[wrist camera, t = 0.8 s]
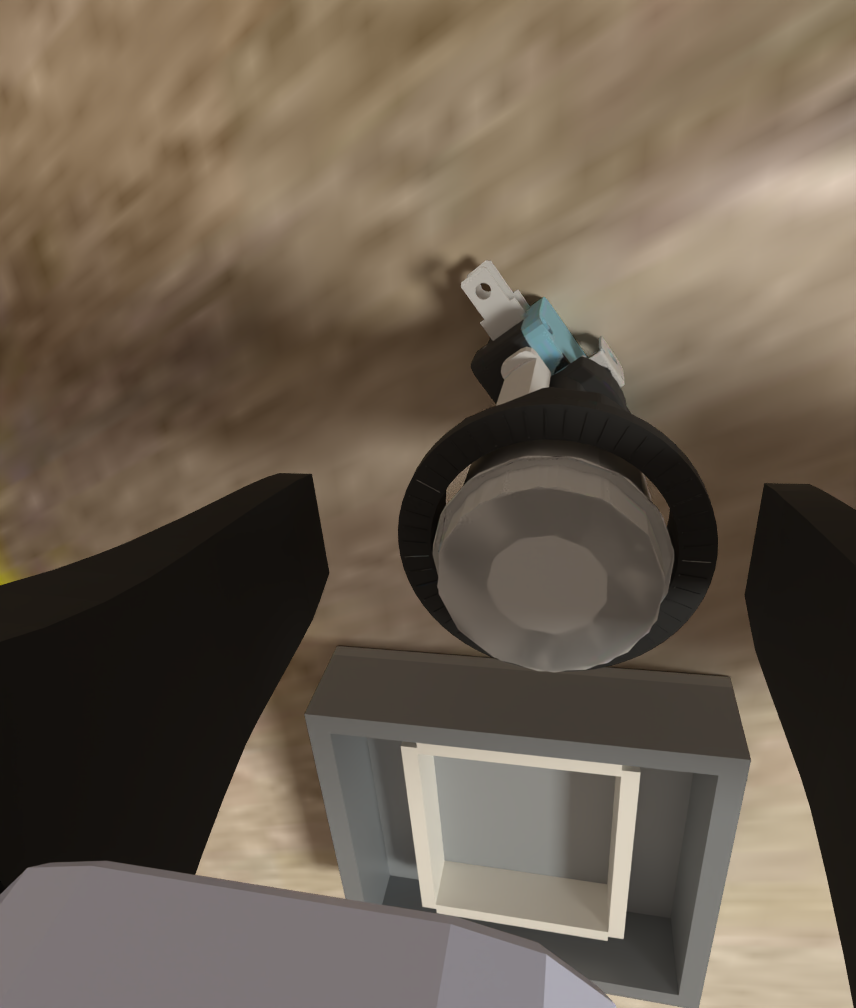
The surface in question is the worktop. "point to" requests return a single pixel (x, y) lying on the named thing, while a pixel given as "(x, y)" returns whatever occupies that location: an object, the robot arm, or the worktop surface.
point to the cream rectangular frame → (518, 892)
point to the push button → (554, 505)
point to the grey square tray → (542, 794)
